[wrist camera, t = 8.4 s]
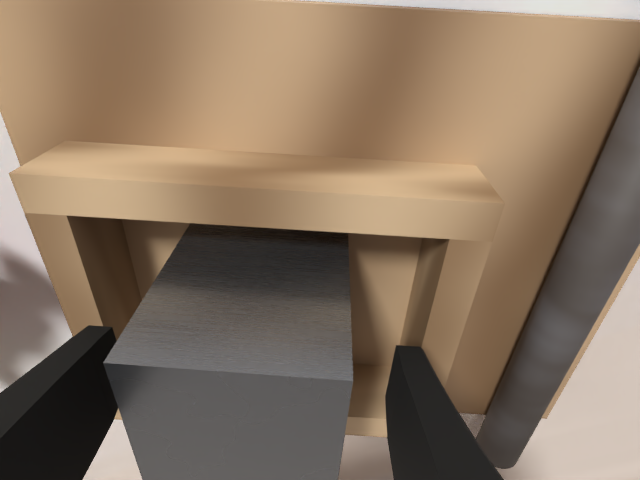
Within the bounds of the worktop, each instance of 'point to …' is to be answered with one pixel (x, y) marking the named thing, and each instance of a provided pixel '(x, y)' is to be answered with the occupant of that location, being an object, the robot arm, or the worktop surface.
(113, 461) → the worktop surface
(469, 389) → the plate
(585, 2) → the worktop surface
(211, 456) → the grey rectangular block
